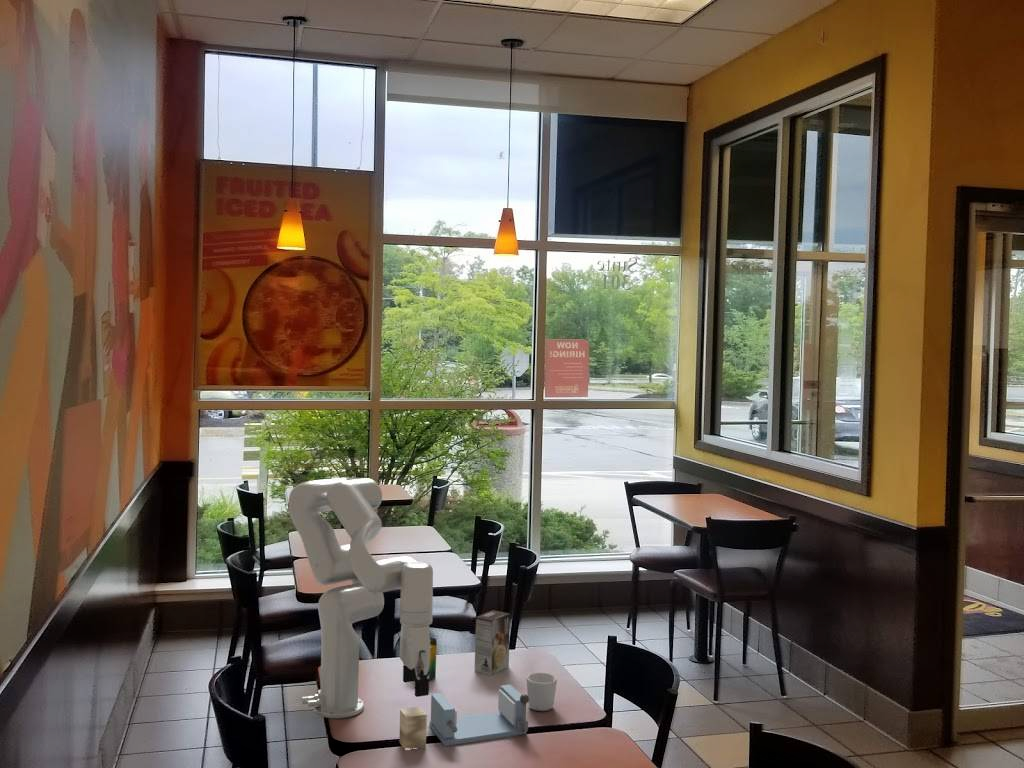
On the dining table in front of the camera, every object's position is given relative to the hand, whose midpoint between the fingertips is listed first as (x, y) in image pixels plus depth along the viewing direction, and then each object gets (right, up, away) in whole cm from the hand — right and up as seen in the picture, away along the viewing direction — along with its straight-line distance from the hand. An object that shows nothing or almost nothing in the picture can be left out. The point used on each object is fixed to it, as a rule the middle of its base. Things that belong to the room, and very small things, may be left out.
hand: (415, 688), depth 212 cm
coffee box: (+17, -12, +53) cm, 57 cm away
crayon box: (-3, -12, +45) cm, 46 cm away
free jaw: (+7, -12, +5) cm, 15 cm away
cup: (+30, -14, +27) cm, 42 cm away
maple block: (-1, -14, +1) cm, 14 cm away
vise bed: (+15, -14, +9) cm, 22 cm away
